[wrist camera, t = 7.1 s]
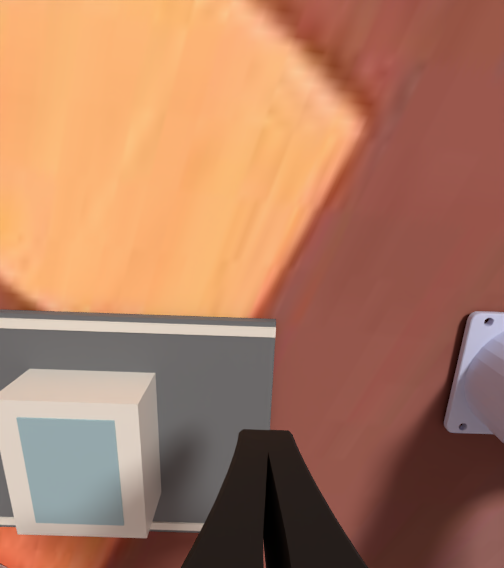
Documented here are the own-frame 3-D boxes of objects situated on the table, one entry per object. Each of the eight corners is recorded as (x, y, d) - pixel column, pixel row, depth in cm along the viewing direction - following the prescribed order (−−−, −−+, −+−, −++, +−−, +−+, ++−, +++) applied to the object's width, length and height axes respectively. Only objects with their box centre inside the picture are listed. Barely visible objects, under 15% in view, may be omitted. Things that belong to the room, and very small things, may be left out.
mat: (275, 319, 19) (276, 323, 18) (263, 527, 23) (263, 536, 22) (-68, 307, 18) (-79, 310, 18) (-17, 518, 23) (-24, 527, 22)
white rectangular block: (137, 405, 16) (-12, 400, 16) (146, 539, 18) (16, 535, 18) (155, 372, 19) (29, 368, 19) (161, 492, 21) (49, 488, 21)
